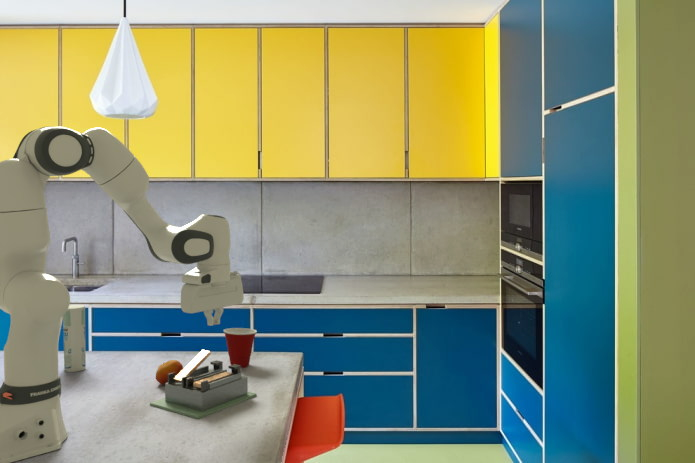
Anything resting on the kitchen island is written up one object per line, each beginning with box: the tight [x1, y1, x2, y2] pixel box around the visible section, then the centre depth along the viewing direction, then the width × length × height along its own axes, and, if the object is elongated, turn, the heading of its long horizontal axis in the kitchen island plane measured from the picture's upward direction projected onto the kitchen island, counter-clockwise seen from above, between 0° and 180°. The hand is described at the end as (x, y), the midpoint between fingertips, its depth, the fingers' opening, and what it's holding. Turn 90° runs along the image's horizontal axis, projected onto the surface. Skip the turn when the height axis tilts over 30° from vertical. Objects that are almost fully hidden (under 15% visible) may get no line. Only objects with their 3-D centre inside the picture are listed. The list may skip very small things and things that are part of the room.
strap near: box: [193, 371, 233, 388], centre depth 173 cm, size 12×3×1 cm, turn 147°
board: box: [149, 391, 257, 420], centre depth 176 cm, size 22×18×1 cm
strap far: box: [174, 349, 212, 383], centre depth 176 cm, size 12×3×1 cm
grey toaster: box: [164, 359, 249, 412], centre depth 176 cm, size 17×14×8 cm
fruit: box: [155, 359, 184, 387], centre depth 190 cm, size 8×8×8 cm
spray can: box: [62, 304, 87, 373], centre depth 204 cm, size 6×6×20 cm
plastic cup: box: [222, 327, 258, 369], centre depth 210 cm, size 11×11×12 cm
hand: (213, 324), depth 175 cm, fingers closed
